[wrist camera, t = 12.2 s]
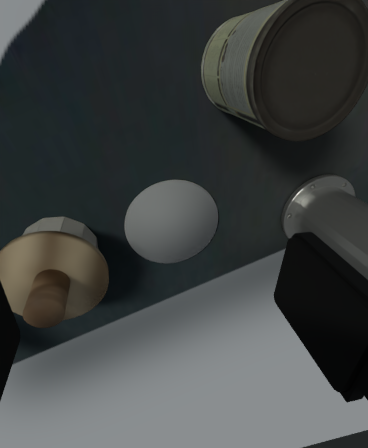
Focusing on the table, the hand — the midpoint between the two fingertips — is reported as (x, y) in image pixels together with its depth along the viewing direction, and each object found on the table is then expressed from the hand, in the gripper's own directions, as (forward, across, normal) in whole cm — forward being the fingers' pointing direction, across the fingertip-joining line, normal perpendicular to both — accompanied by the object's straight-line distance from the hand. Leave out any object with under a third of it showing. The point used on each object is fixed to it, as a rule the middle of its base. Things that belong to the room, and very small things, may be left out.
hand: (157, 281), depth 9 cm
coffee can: (+28, -14, -6) cm, 32 cm away
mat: (+28, -6, +14) cm, 32 cm away
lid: (+22, +10, +17) cm, 30 cm away
